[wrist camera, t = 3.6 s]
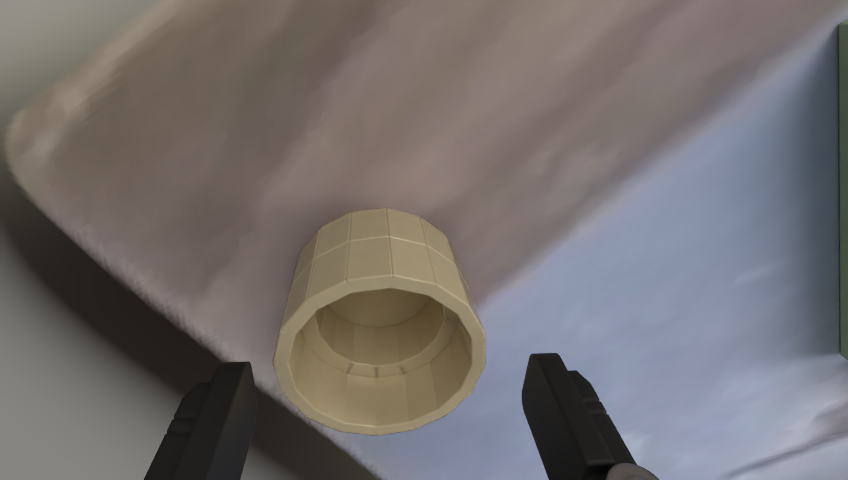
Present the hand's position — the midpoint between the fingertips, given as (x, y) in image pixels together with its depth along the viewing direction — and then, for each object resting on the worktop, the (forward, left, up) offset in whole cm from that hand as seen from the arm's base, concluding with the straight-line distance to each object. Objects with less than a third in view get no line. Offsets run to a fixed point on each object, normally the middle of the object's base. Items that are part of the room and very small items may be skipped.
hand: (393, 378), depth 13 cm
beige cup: (0, 0, -6) cm, 6 cm away
